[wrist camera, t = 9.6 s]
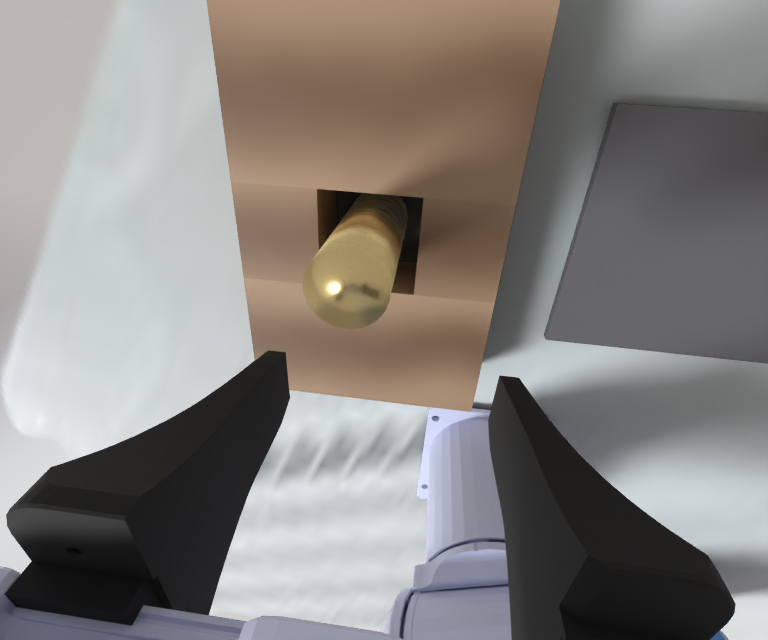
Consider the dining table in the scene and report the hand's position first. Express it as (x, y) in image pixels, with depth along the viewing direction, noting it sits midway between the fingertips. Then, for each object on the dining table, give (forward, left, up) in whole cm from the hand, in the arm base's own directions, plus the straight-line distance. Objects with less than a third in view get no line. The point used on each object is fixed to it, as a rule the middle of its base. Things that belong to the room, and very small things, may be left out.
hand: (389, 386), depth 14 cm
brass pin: (+3, +2, -10) cm, 11 cm away
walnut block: (+3, +2, -10) cm, 11 cm away
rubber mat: (+3, -14, -10) cm, 18 cm away
